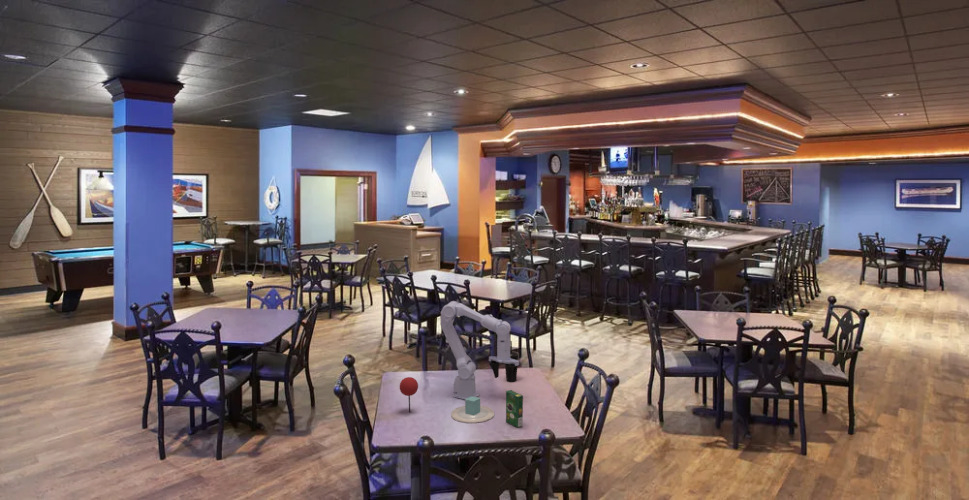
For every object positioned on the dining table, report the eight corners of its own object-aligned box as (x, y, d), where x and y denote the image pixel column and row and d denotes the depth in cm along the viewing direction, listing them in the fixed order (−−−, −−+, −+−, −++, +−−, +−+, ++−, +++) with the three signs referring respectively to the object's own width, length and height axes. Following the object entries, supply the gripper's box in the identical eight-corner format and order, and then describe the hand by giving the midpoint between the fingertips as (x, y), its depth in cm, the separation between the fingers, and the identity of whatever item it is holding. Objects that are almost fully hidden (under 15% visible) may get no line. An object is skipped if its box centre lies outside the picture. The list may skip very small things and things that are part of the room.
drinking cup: (502, 378, 293) (502, 339, 291) (517, 377, 293) (517, 338, 291) (504, 383, 285) (504, 343, 283) (520, 382, 286) (519, 342, 284)
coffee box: (523, 426, 232) (523, 394, 231) (517, 428, 231) (517, 396, 229) (511, 420, 239) (511, 389, 238) (505, 422, 237) (505, 390, 236)
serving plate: (442, 417, 243) (442, 415, 243) (466, 404, 258) (466, 402, 258) (479, 426, 233) (479, 424, 233) (502, 411, 248) (502, 409, 248)
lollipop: (421, 409, 252) (420, 375, 250) (413, 416, 245) (412, 381, 243) (405, 407, 254) (404, 374, 253) (397, 414, 247) (396, 379, 246)
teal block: (465, 413, 245) (465, 399, 244) (471, 409, 248) (471, 396, 248) (474, 415, 242) (474, 401, 242) (480, 412, 246) (480, 398, 245)
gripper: (485, 349, 262) (485, 378, 263) (513, 353, 254) (513, 384, 255) (493, 345, 268) (493, 374, 269) (521, 349, 260) (521, 379, 261)
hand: (503, 378), depth 263 cm, fingers open, 7 cm apart
